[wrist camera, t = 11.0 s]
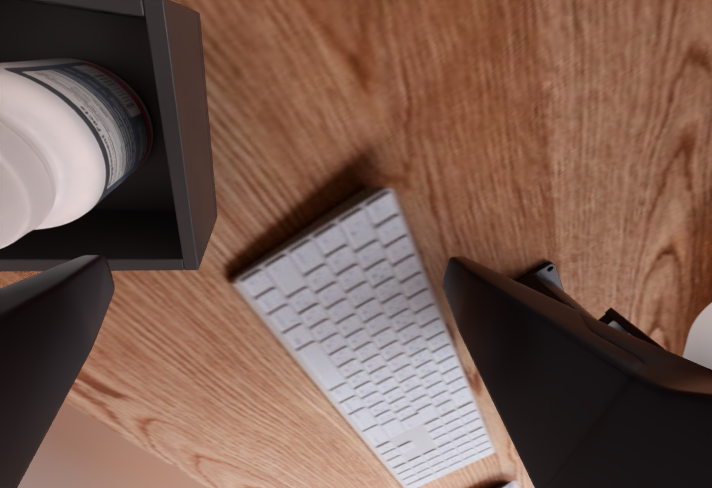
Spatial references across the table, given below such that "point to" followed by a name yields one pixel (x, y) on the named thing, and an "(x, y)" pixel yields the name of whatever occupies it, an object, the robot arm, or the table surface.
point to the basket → (170, 131)
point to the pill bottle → (64, 141)
